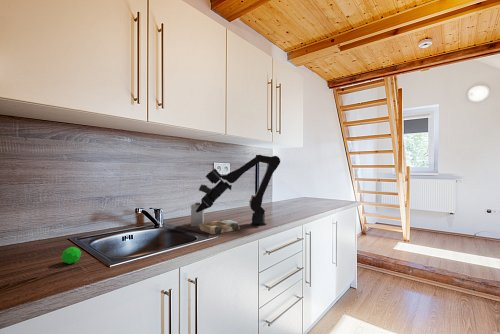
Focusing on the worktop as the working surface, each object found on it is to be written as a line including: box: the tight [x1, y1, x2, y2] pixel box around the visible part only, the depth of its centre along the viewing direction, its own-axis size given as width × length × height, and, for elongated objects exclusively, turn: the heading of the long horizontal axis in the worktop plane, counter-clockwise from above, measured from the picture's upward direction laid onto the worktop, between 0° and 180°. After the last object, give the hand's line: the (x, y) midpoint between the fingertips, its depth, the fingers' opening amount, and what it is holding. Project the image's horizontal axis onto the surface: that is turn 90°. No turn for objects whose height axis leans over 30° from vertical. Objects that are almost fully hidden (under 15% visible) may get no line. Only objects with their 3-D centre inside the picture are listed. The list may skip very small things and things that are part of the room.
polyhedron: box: [61, 246, 82, 265], centre depth 78 cm, size 5×5×5 cm
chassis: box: [199, 219, 241, 235], centre depth 124 cm, size 16×13×3 cm
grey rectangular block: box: [190, 202, 205, 227], centre depth 133 cm, size 6×6×12 cm
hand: (197, 210), depth 133 cm, fingers open, 9 cm apart
